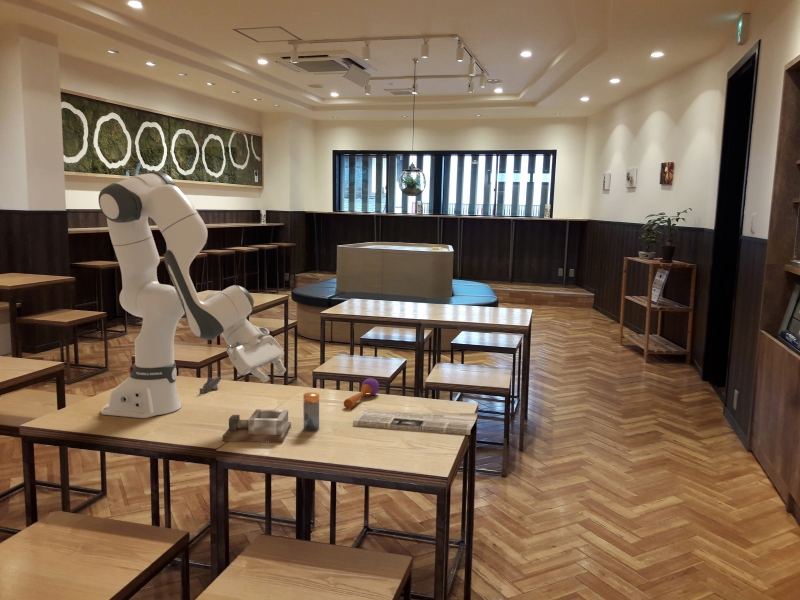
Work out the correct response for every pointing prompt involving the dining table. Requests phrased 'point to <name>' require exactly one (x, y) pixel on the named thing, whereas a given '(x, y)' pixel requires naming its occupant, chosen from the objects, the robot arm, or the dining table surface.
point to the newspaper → (417, 421)
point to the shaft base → (259, 427)
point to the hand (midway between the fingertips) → (275, 376)
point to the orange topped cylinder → (311, 411)
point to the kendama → (363, 392)
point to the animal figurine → (210, 384)
